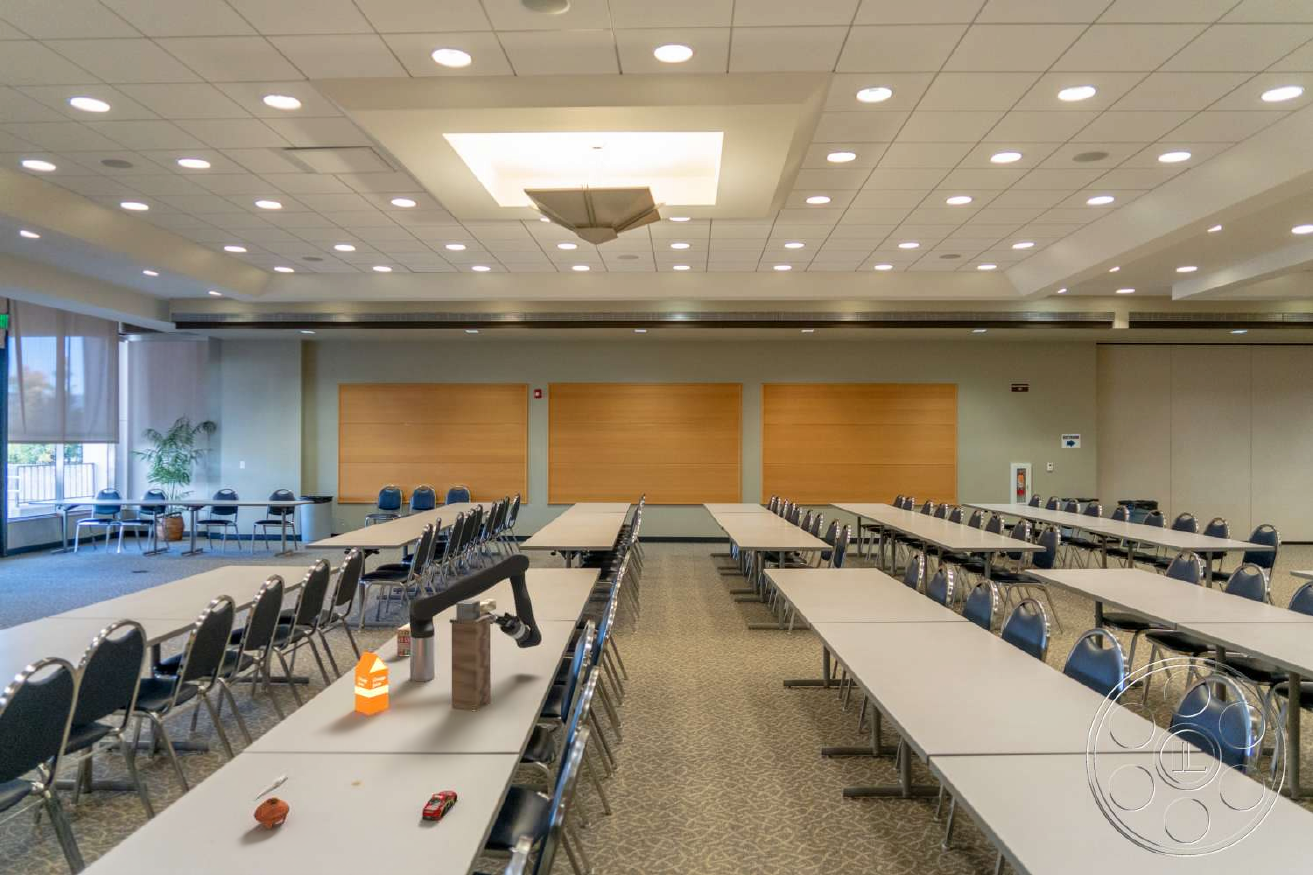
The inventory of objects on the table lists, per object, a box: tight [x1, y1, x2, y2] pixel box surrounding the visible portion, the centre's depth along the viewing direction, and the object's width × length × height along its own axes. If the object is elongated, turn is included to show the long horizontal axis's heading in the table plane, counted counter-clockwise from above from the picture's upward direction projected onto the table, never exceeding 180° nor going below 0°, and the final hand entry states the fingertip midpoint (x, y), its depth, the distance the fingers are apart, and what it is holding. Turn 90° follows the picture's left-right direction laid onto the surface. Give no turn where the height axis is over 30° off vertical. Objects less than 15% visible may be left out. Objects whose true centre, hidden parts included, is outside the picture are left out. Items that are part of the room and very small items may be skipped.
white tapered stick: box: [253, 771, 290, 802], centre depth 211 cm, size 15×3×2 cm, turn 172°
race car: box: [421, 790, 458, 820], centre depth 199 cm, size 13×5×4 cm, turn 170°
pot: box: [253, 797, 290, 830], centre depth 191 cm, size 8×8×7 cm
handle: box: [455, 598, 497, 621], centre depth 282 cm, size 20×6×6 cm, turn 162°
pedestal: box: [449, 614, 493, 712], centre depth 277 cm, size 11×11×32 cm
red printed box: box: [396, 622, 411, 655], centre depth 352 cm, size 21×6×12 cm, turn 173°
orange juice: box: [354, 651, 389, 715], centre depth 273 cm, size 8×9×20 cm
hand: (495, 614), depth 294 cm, fingers open, 8 cm apart
